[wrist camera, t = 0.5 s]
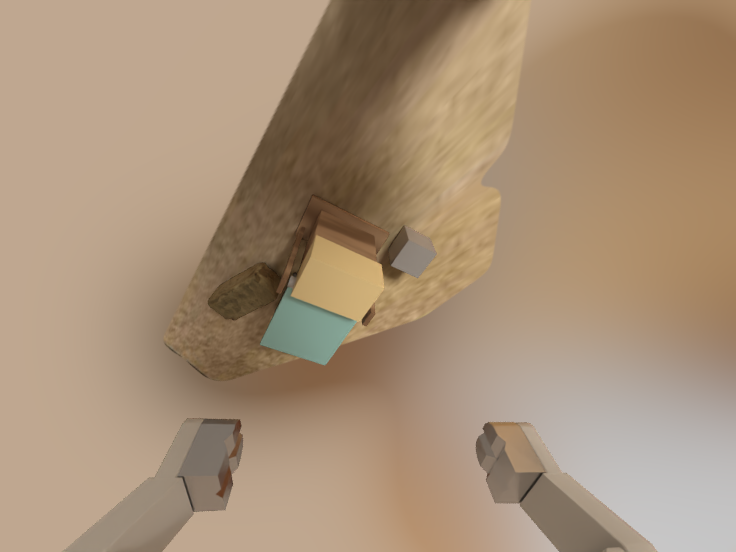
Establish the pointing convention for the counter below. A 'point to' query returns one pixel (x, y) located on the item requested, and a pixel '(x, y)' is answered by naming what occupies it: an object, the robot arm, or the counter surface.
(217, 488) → the robot arm
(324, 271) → the trapdoor
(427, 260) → the stone cube
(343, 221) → the trapdoor frame
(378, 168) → the counter surface
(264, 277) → the stone block
